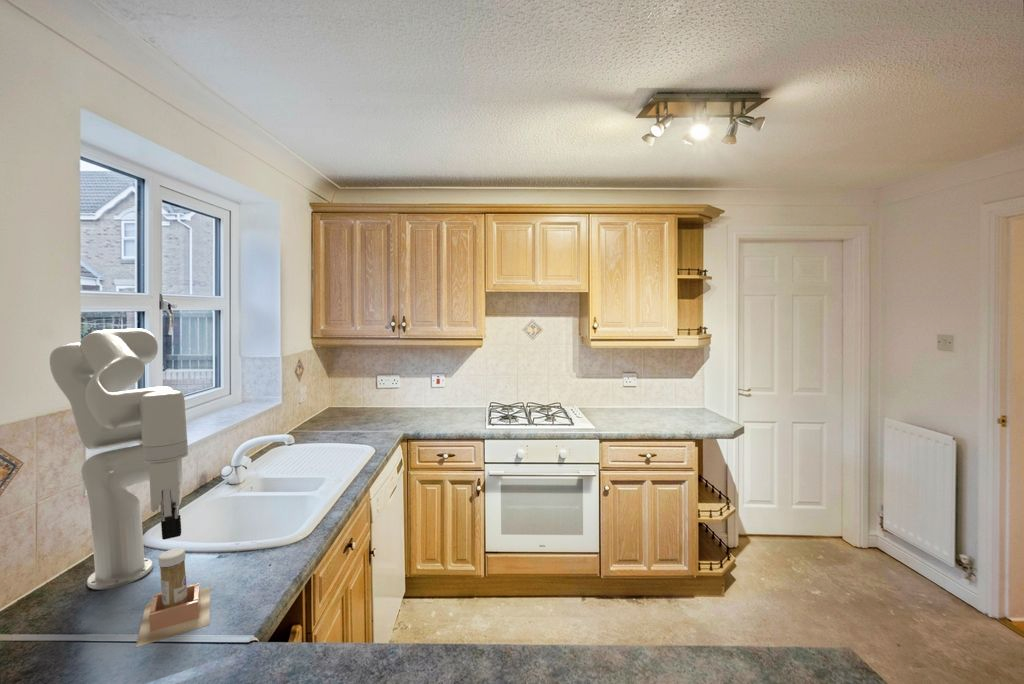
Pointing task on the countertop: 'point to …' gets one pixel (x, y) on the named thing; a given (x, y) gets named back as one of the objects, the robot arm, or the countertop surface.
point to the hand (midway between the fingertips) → (172, 536)
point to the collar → (175, 610)
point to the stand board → (180, 628)
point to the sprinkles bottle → (173, 578)
